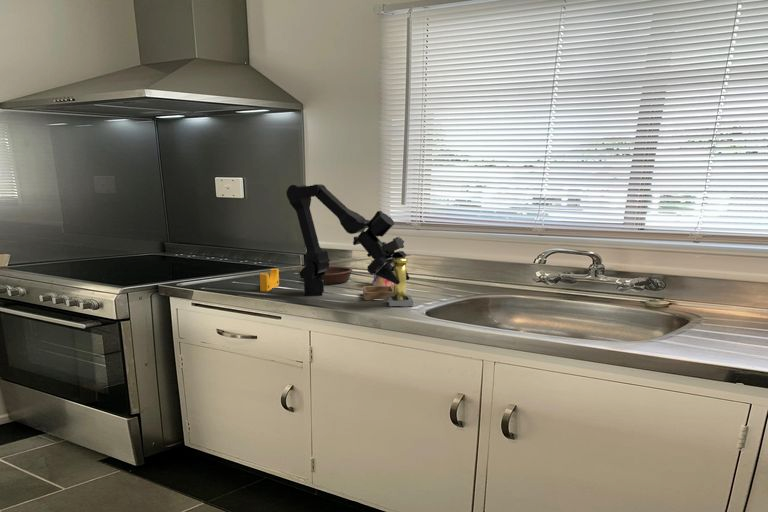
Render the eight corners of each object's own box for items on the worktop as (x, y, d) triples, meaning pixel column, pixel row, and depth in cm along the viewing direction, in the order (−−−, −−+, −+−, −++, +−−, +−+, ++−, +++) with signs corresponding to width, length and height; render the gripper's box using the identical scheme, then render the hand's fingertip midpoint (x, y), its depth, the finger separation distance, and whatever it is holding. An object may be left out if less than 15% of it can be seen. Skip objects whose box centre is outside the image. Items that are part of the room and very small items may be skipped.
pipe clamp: (268, 284, 202) (267, 268, 201) (279, 285, 201) (278, 268, 200) (255, 291, 190) (255, 274, 189) (267, 291, 189) (266, 274, 188)
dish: (364, 280, 211) (364, 268, 211) (328, 289, 194) (327, 276, 193) (333, 275, 222) (332, 264, 221) (295, 283, 204) (295, 271, 203)
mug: (384, 289, 191) (384, 261, 190) (365, 286, 197) (365, 259, 196) (404, 284, 201) (404, 257, 199) (385, 281, 206) (385, 255, 205)
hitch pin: (392, 306, 167) (392, 260, 164) (391, 302, 172) (391, 257, 170) (408, 305, 167) (409, 260, 165) (406, 302, 172) (406, 257, 170)
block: (389, 307, 165) (389, 301, 165) (387, 301, 173) (387, 295, 173) (413, 306, 166) (413, 300, 166) (409, 301, 174) (409, 295, 173)
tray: (364, 300, 174) (364, 292, 174) (363, 293, 184) (363, 286, 184) (395, 300, 175) (395, 291, 175) (392, 293, 185) (392, 285, 185)
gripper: (375, 232, 159) (408, 270, 156) (401, 227, 176) (430, 261, 173) (353, 255, 164) (385, 293, 161) (380, 248, 181) (409, 282, 177)
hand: (403, 281), depth 168 cm, fingers open, 7 cm apart
